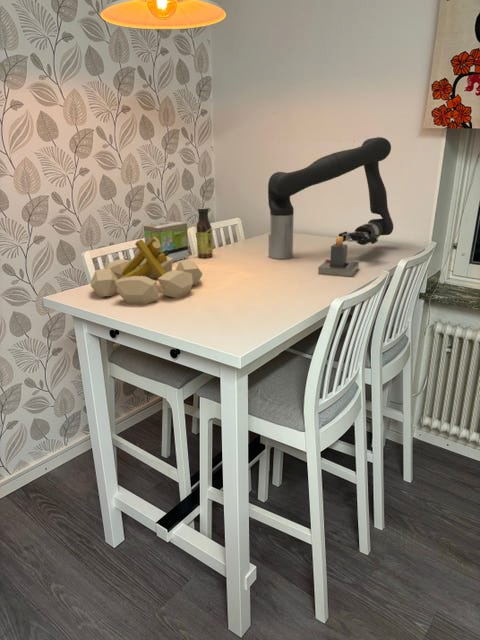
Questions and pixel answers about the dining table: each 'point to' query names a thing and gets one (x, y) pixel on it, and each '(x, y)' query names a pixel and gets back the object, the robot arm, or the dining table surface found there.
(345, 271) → the socket
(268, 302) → the dining table surface
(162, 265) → the campfire
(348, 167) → the robot arm
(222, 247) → the dining table surface
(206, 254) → the sauce bottle
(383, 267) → the dining table surface
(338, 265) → the plug
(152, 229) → the tea box
